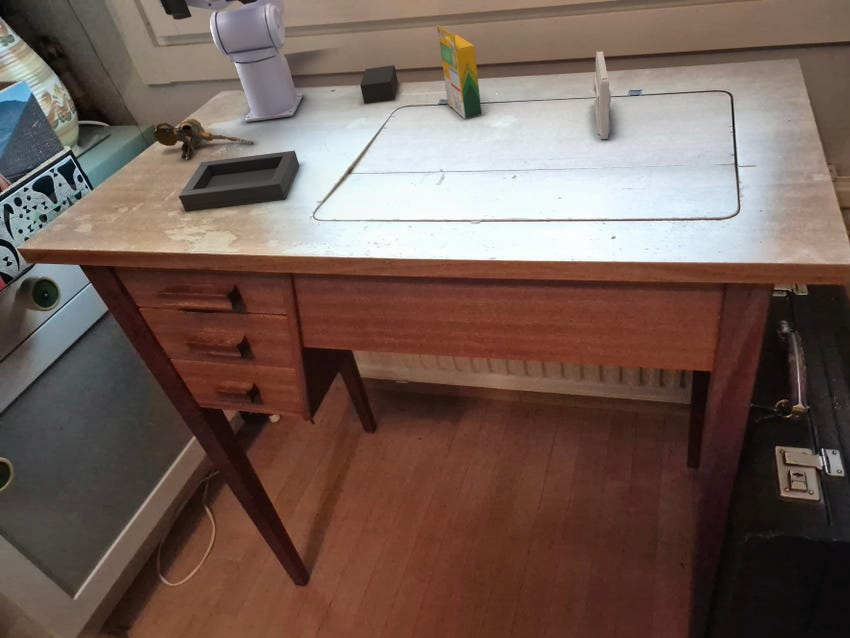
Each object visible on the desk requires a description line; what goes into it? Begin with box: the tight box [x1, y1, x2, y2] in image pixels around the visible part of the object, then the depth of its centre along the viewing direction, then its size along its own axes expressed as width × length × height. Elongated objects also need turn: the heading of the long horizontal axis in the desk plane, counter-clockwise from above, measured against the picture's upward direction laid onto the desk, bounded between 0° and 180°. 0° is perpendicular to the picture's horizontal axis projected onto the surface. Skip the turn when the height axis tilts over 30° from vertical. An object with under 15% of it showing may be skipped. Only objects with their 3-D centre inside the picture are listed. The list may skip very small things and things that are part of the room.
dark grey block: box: [359, 64, 399, 105], centre depth 109 cm, size 8×5×3 cm, turn 1°
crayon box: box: [436, 24, 482, 120], centre depth 96 cm, size 7×3×12 cm, turn 23°
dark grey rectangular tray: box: [178, 150, 300, 212], centre depth 88 cm, size 10×13×2 cm
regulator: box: [153, 118, 254, 161], centre depth 100 cm, size 8×4×15 cm
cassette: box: [593, 49, 612, 140], centre depth 88 cm, size 12×2×8 cm, turn 176°
